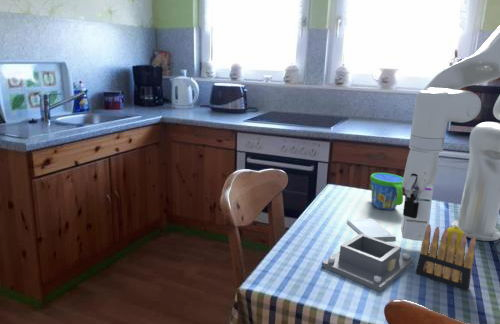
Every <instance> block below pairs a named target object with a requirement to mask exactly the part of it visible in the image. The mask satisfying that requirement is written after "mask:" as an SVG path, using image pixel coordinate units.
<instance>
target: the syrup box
mask: <svg viewBox="0 0 500 324" xmlns="http://www.w3.org/2000/svg"><path fill="white" fill-rule="evenodd" d="M413 189H417V190H418V189H419V188H417V187H415V186H414V188H413ZM412 193H414V195H415V196H416V193H415V192H412ZM405 194H406V193H405V192H404V195H405ZM433 194H434V185H432V183H430V184H428V185H427V187H426V190H425V191H423V192H421V193H420V196H419V199H418V203H419V206H418V213H417V218H411V217H408V216H404V215H403V214H402V220H401V227H400V229H401V237H402V239H404V240H405V239H406V240H411V241H419V242H422V241H423V239H424V236H425V231H426V228H427V226H428V225H429V224H430V218H431V209H432V200H433ZM403 202H404V203H405V201H403ZM404 203H403V204H404Z"/></svg>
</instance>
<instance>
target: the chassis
mask: <svg viewBox="0 0 500 324" xmlns="http://www.w3.org/2000/svg"><path fill="white" fill-rule="evenodd" d="M401 251H402V247H401V246H398V245H396V244H393V243H390V242H386V241H381V240H379V239H376V238H373V237H370V236H367V235H364V234H358V235H357V236H355V237H353V238H351V239H349V240H348V241H346V242H344V243H342V244H341V245H340V248H339V251H338V252H336V253H335V254H333V255H332V256H329V257H328V258H326V259H325V260H323V261H322V262H321V268H323V269H326V270H327V271H331V272H332V273H334V274H337V275H339V276H341V277H344V278H347V280H351V281H353V282H355V283H357V284H360V285H361V286H365V287H367V288H369V289H372V290H374V291H376V292H379V293H381V292H382V291H383V290H384V289H385V288H387V287H388V286H389V285H390V284H392V283H393V282H394V281H395V280H396V279H397V278H398V277H400V276H401V275H402V274H403V273H404V272H406V270H408V269H409V268H410V267H411V266H412V265H413V264H414V262H415V261H414V260H415V258H413V257H410V254H409V253H406V252H405V253H403V254H402V253H401Z"/></svg>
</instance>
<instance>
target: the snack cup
mask: <svg viewBox="0 0 500 324" xmlns="http://www.w3.org/2000/svg"><path fill="white" fill-rule="evenodd" d="M403 178H404V176H400V175H397V174H395V173H388V172H374V173H372V174H371V175H370V184H369V189H370V190H371V205H372V206H373V207H375V208H377V209H378V210H384V211H392V210H394V209H396V207H397V206H400V205H402V204H403V202H404V194H403V193H404V191H403V189H404V188H403V187H402V184H403Z"/></svg>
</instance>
